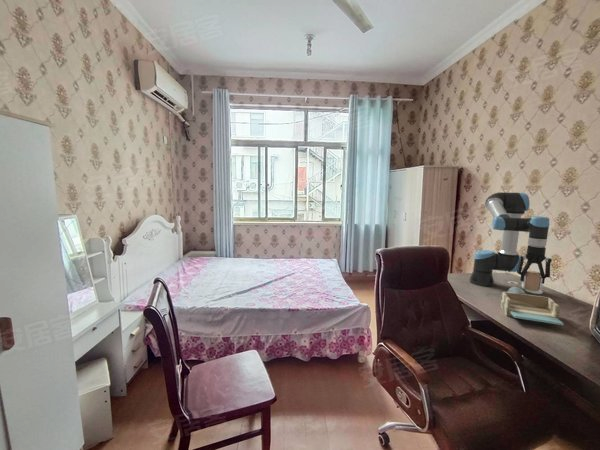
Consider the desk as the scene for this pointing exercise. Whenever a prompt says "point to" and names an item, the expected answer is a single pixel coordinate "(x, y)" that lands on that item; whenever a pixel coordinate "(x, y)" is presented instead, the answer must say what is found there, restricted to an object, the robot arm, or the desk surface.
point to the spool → (516, 290)
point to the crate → (529, 304)
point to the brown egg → (532, 280)
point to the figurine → (535, 291)
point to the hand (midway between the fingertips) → (531, 288)
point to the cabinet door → (536, 317)
